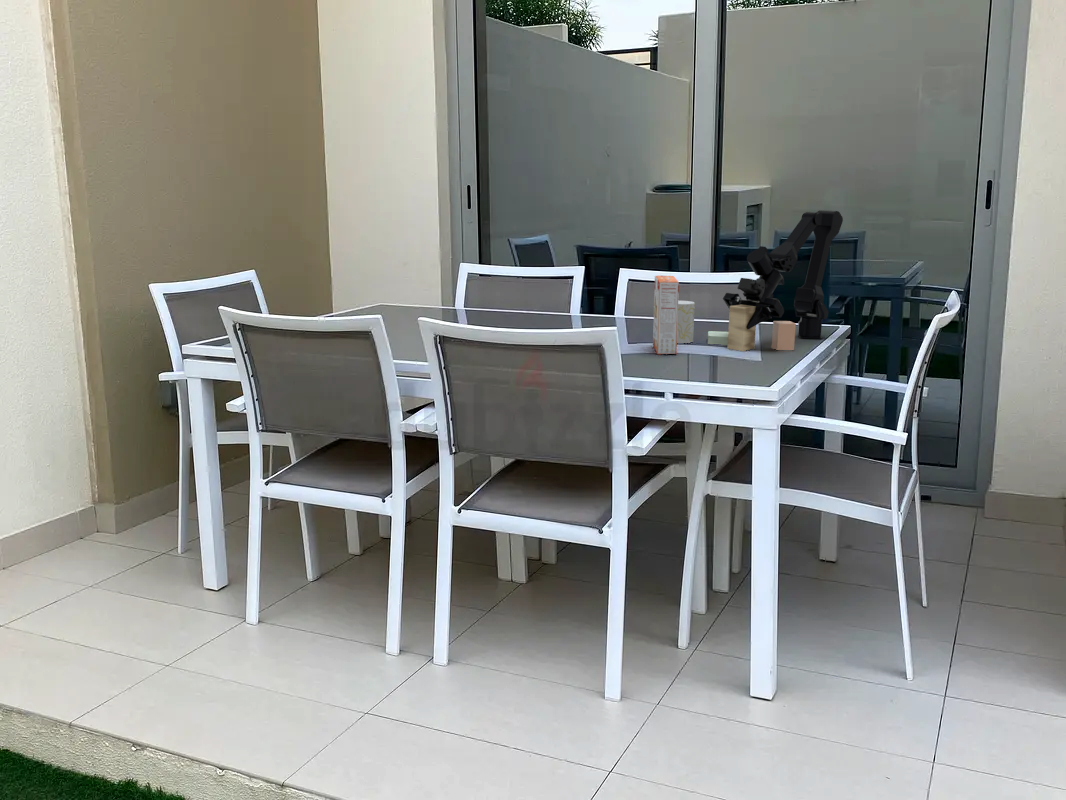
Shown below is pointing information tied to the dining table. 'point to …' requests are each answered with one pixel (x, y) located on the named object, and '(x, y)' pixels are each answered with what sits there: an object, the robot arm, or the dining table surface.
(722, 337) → the sage slab
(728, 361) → the dining table surface
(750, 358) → the dining table surface
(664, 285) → the cracker box
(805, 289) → the robot arm
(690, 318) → the cup
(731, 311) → the oak block
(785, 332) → the terracotta block
